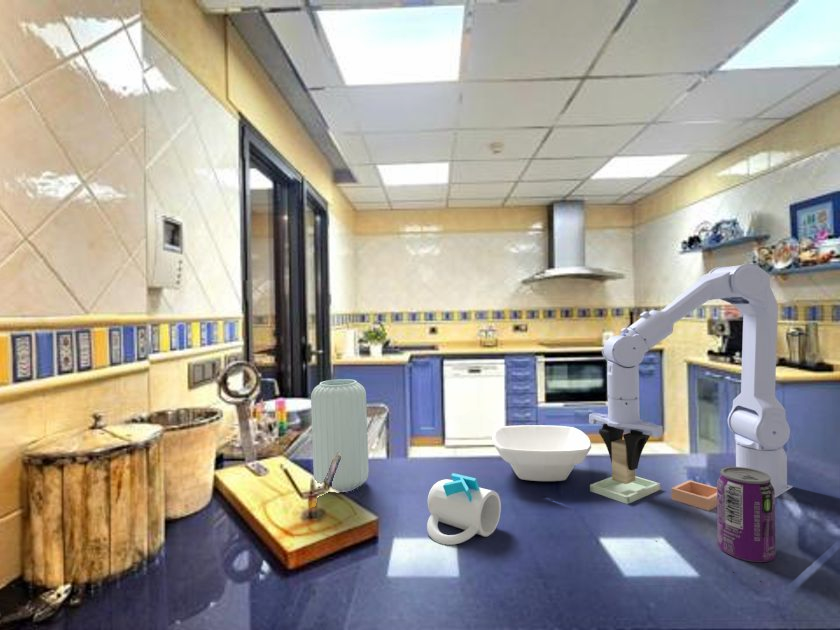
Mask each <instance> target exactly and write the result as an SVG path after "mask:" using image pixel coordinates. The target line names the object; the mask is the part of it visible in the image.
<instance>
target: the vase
mask: <svg viewBox="0 0 840 630" xmlns="http://www.w3.org/2000/svg"><path fill="white" fill-rule="evenodd" d="M366 391H367V390H366V389H365V386H364V385H362V384H361V383H359V382H358V381H357V380H355V379H347V378H343V379H341V378H340V379H328V380H324V381H320V382H319V384H318V385H316V386H315V387H314V388H313V390H312V391H311V394H310V407H311V408H310V411H311V413H310V414H311V436H312V440H311V441H312V464H313V465H312V466H313V469H312V470H313V479H314V481H315V480H316V481H317V483H320V484H322V483H323V481H324V479H325V477H326V475H327V473H328V471H329V468H330V465H331V462H332V460H333V458H334V456H335V454H336V453H337V452H339V453H340V455H341V460H340V462H339V465H338V468H337V470H336V473H335V475H334V478H333V481H332V488H333V489H336V490H339V491H343V490H347V491H348V490H352V489H354V488H357V487H359V486H360V487H361V486H362V485H364V484H365V482H366V481H367V479H368V477H369V473H370V472H369V468H370V467H369V466H370V465H369V446H368V445H369V440H368V414H367V410H368V409H367V392H366ZM360 487H359V488H360ZM357 489H358V488H357Z"/></svg>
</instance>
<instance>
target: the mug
mask: <svg viewBox="0 0 840 630" xmlns="http://www.w3.org/2000/svg"><path fill="white" fill-rule="evenodd" d="M427 507H428V511H429V513H430V516H429V517H428V520H427V523H426V531H427V534H428V536H429V537H430V538H431V539H432V540H433V541H434V542H436V543H438V542H439V543H438V544H440V543H443V544H442V545H445V544H446V545H445V546H447V545H449V546H451V545H452V546H454V545H458V544H462V543H464V542H466V541H468V540H470V539H471V538H473V537H474V536H476V535H479V536H481V537H489V536H490V535H492V534H493V533H494V532H495V531H496V528H497V526H498V524H499V521H500V517H501V512H502V503H501V498H500V495H499V493H498V492H496V491H495V490H492V489H487V488H483V487H480V486H479V483H478V480H477V478H476V477H471V476H467V475H462V474H460V473H459V474H458V473H455V472H452V473H451V479H446V478H445V479H442V480H438V481H437V482H435V483H434V484H433V485H432V487H431V489H429V493H428V496H427ZM439 522H440V523H443V524H446V525H447V526H452V527H454V528H458V529H461V530H463V531H462V532H459V533H457V534H449V535H448V534H445V533H443V532H441V531H440V529H439V527H438V526H439V525H438V524H439Z"/></svg>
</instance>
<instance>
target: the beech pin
mask: <svg viewBox="0 0 840 630" xmlns="http://www.w3.org/2000/svg"><path fill="white" fill-rule="evenodd" d="M611 471H612V473H611V477H612V480H614V481H617V482H621V483H624V484H628V483H631V482H633V481H635V476H636V469H634V470H629V469H628V463H627V448H626V444H625V440H624V439H623V438H622V439H619V440H616V441H613V442H612V463H611Z"/></svg>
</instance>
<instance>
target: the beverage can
mask: <svg viewBox="0 0 840 630" xmlns="http://www.w3.org/2000/svg"><path fill="white" fill-rule="evenodd" d="M770 480H771V477H770V476H769V475H768V474H766V473H764V472H762V471H758V470H755V469H750V468H744V467H736V466H727V467H722V468H721V469H720V475H719V477H718V479H717V481H716V488H717V507H716V509H717V515H716V516H717V518H716V519H717V523H716V524H717V546H718V548H719V549H720V550H722V552H724V553H726V554H728V555H730V556H732V557H734V558H736V559H739V560H742V561H747V562H748V561H749V562H753V563H754V562H755V563H766V562H771V561H773V560H774V559H775V558H776V506H775V505H776V498H775V490H774V488H773V486H772V484H771V482H770Z"/></svg>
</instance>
